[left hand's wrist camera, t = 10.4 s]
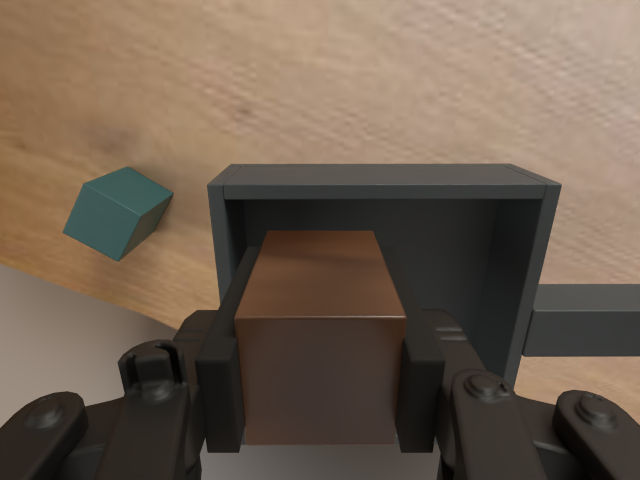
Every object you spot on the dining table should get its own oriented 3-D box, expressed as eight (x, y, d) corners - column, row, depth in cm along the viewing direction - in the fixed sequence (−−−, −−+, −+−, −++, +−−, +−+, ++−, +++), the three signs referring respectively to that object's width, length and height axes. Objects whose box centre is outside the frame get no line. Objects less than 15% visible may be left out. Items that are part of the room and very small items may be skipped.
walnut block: (271, 321, 16) (244, 446, 10) (266, 229, 14) (233, 316, 9) (368, 321, 16) (395, 446, 10) (373, 229, 14) (408, 316, 9)
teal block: (108, 207, 31) (61, 232, 26) (127, 166, 30) (83, 183, 24) (153, 232, 32) (118, 262, 26) (173, 193, 31) (141, 215, 25)
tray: (249, 385, 23) (235, 446, 19) (230, 163, 18) (205, 185, 14) (688, 384, 23) (764, 445, 19) (787, 163, 18) (917, 184, 14)
